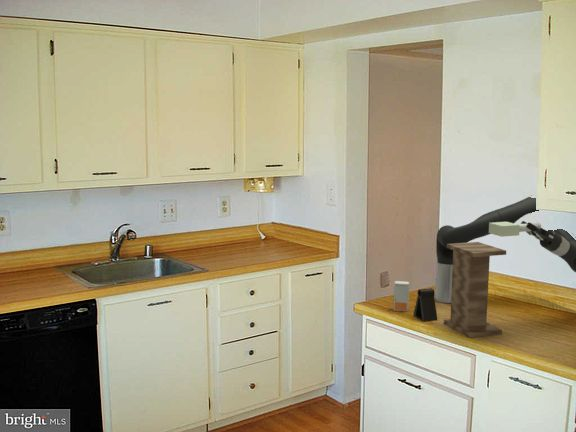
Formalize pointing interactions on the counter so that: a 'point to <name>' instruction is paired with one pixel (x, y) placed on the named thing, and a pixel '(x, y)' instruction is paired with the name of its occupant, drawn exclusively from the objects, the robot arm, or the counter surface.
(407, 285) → the skincare box
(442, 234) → the robot arm
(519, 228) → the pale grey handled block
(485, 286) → the walnut stand
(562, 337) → the counter surface
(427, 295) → the phone stand
